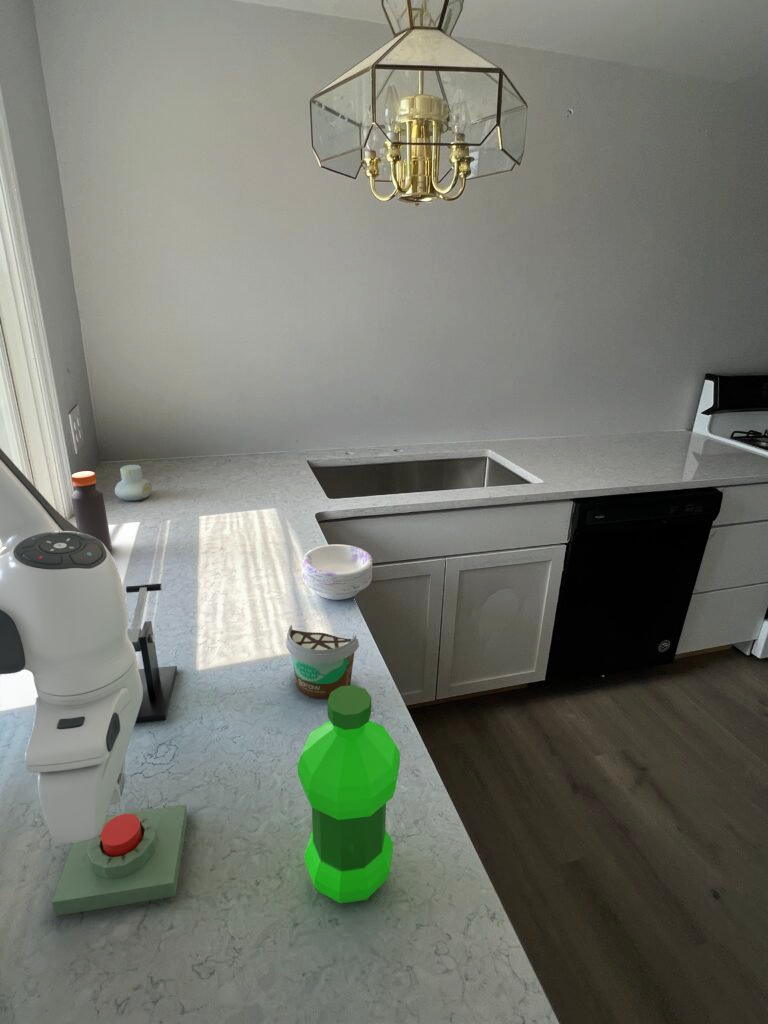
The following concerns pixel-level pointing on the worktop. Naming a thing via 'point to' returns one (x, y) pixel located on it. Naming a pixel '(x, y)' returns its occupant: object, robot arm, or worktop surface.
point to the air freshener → (132, 484)
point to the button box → (125, 866)
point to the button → (121, 835)
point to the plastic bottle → (349, 798)
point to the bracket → (154, 680)
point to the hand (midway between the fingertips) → (115, 793)
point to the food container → (321, 661)
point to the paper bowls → (337, 570)
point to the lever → (139, 611)
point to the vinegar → (90, 507)
